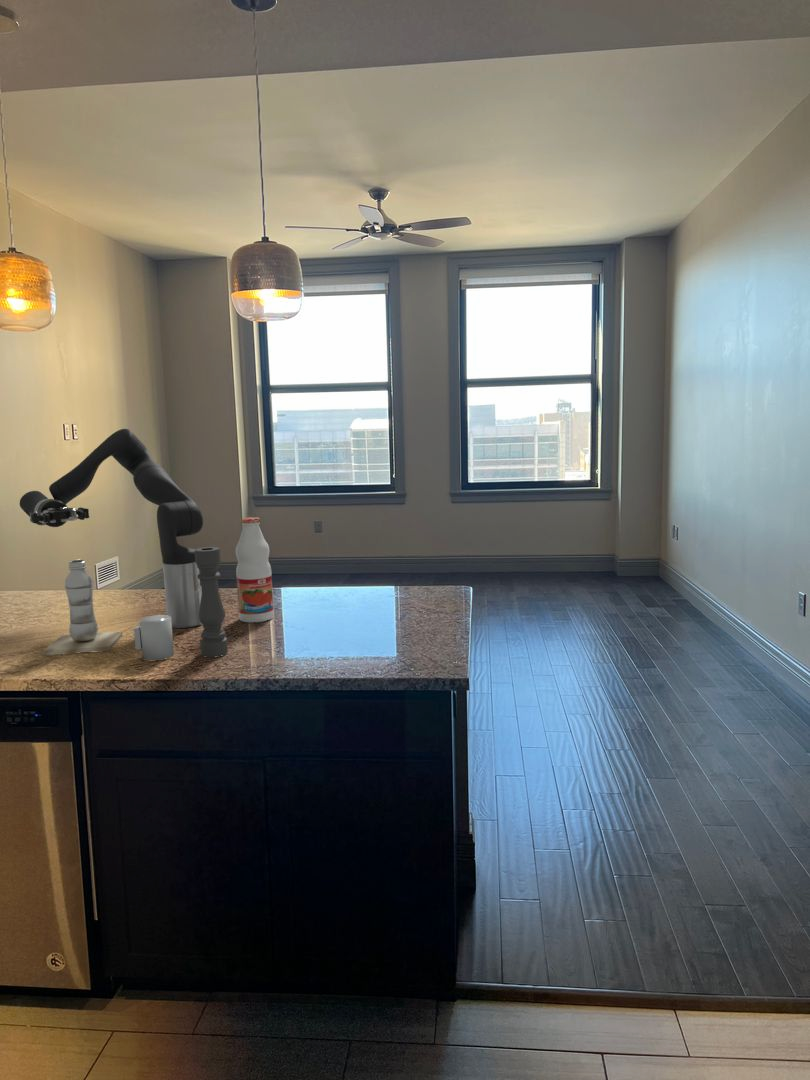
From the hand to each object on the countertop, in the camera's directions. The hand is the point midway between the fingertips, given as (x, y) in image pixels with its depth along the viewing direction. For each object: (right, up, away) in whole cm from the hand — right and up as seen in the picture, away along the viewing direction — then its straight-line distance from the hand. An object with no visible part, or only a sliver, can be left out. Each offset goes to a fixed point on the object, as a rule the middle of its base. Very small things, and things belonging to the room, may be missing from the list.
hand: (66, 517), depth 199 cm
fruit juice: (+49, -28, +9) cm, 57 cm away
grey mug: (+32, -33, -22) cm, 51 cm away
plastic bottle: (+10, -31, -12) cm, 35 cm away
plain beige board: (+10, -32, -12) cm, 36 cm away
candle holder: (+45, -33, -22) cm, 60 cm away
